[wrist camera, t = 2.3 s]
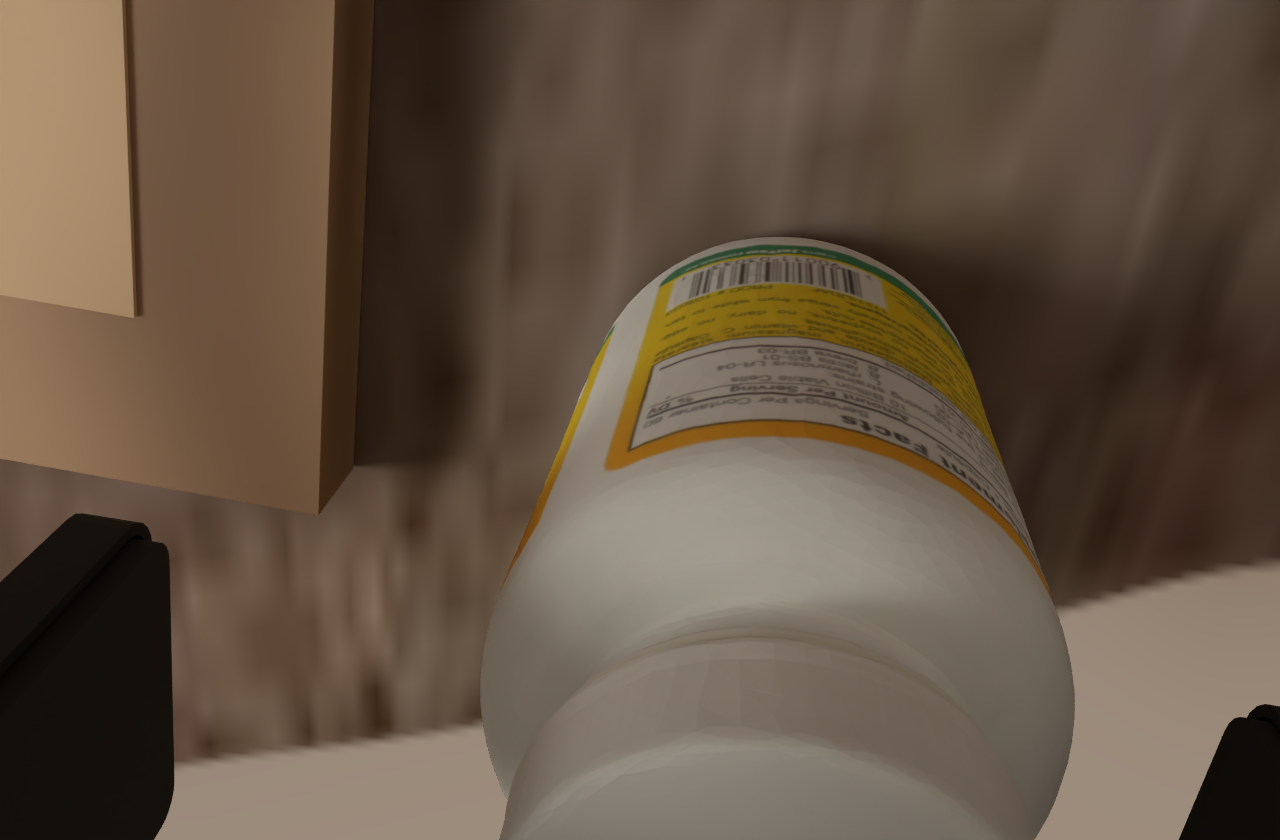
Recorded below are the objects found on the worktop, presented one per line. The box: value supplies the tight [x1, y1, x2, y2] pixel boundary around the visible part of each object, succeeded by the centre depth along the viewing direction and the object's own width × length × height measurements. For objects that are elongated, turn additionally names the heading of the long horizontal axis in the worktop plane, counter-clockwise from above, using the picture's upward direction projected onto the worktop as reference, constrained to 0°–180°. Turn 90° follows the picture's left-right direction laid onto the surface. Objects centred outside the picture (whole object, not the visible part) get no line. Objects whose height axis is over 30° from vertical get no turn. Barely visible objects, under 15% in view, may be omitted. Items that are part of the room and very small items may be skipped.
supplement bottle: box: [480, 237, 1075, 840], centre depth 13 cm, size 5×5×10 cm
